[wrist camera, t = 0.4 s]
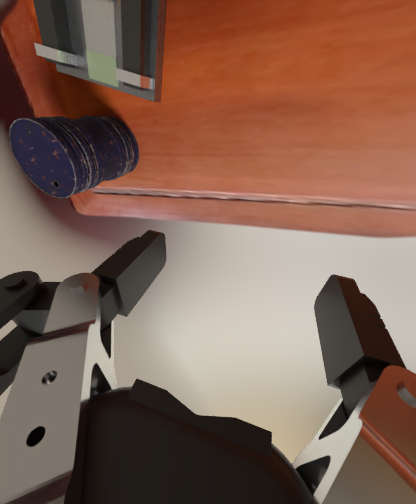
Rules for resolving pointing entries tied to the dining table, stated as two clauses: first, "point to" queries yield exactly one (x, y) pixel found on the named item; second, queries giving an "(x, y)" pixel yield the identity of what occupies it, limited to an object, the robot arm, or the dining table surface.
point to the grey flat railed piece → (106, 42)
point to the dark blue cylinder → (73, 152)
